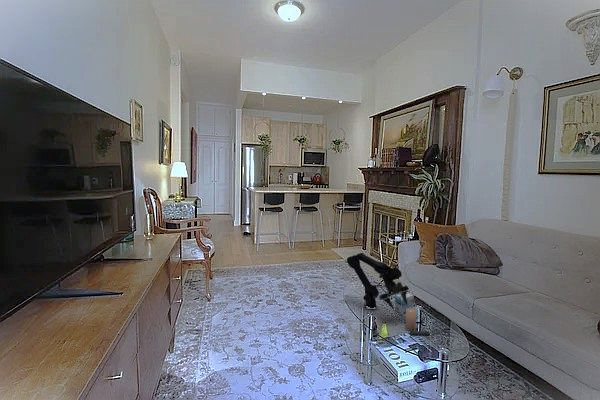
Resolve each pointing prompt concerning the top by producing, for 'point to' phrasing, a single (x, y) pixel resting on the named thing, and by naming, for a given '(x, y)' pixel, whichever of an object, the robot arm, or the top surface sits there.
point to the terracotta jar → (411, 319)
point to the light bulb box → (400, 303)
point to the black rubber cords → (419, 331)
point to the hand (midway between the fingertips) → (399, 306)
